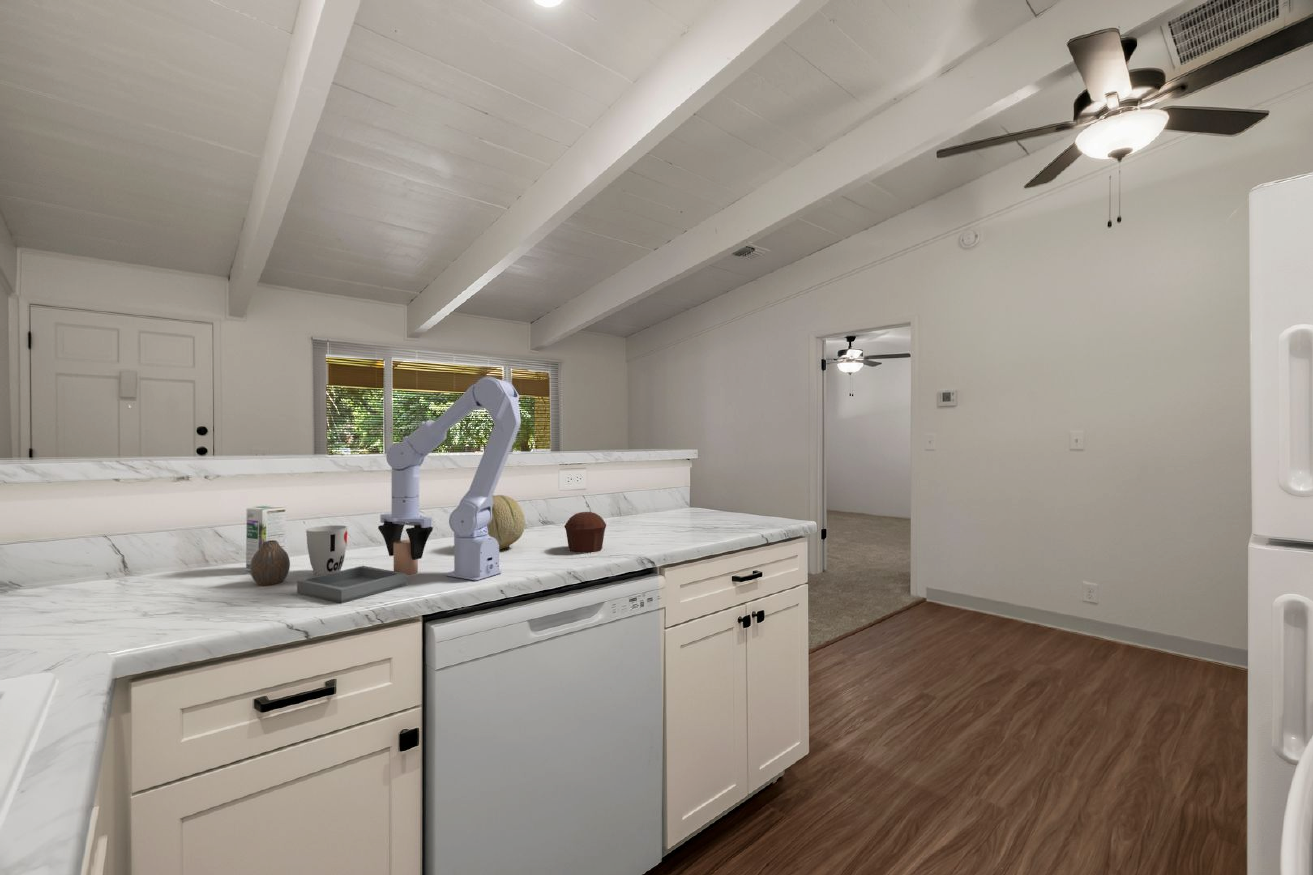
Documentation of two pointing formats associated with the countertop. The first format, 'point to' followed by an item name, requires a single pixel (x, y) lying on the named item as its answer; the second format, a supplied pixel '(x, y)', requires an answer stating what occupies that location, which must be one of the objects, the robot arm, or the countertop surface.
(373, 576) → the grey tray
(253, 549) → the syrup box
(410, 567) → the terracotta cup
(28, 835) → the countertop surface
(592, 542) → the muffin
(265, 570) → the vase
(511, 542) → the cantaloupe
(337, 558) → the cup
